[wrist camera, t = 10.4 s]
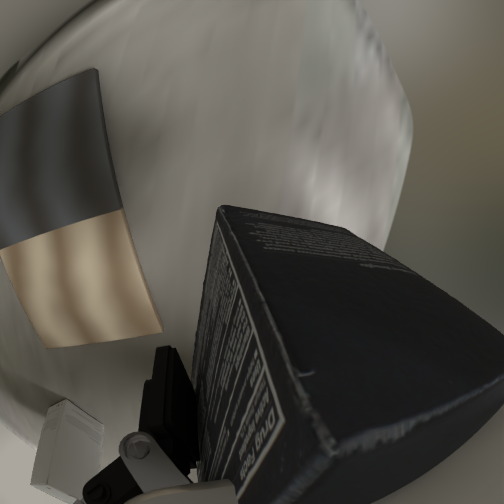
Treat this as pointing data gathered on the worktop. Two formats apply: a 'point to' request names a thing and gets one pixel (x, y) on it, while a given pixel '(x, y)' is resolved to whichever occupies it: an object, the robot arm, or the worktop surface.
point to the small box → (330, 365)
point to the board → (69, 221)
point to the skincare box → (67, 452)
